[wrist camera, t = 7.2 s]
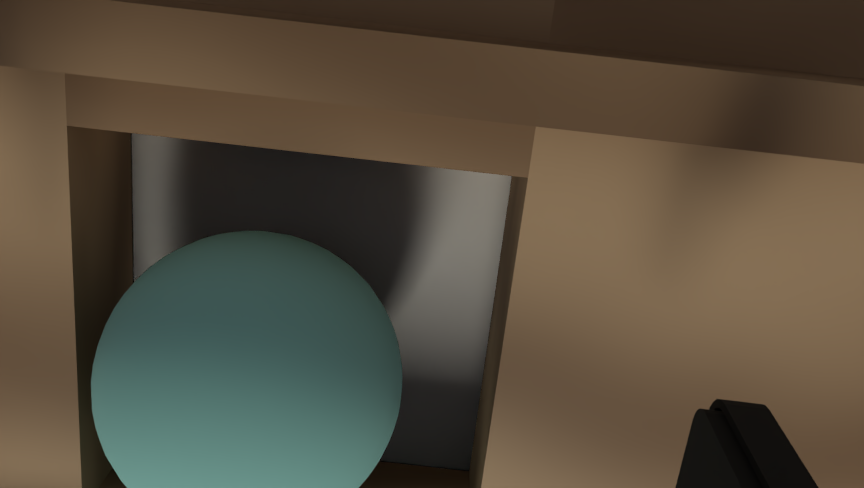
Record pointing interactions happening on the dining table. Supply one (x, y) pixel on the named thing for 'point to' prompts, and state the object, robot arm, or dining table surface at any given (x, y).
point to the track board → (526, 213)
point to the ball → (247, 369)
